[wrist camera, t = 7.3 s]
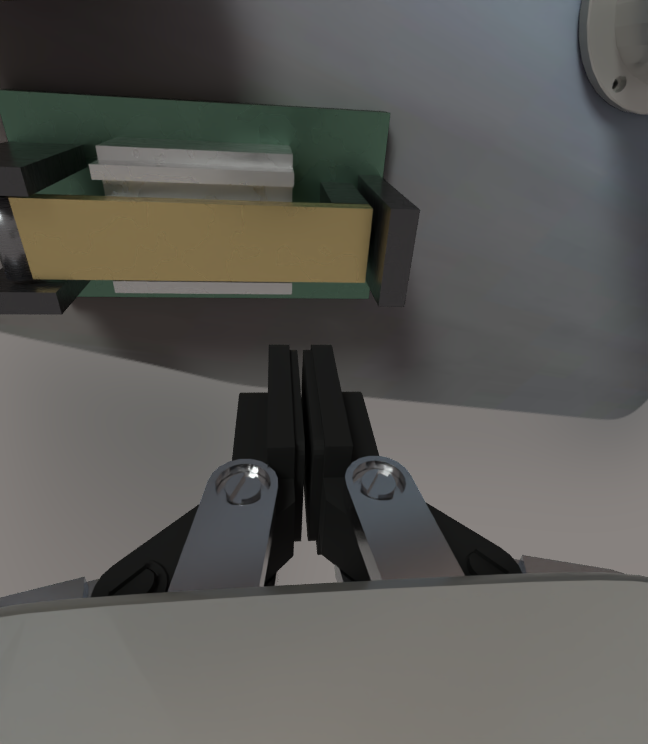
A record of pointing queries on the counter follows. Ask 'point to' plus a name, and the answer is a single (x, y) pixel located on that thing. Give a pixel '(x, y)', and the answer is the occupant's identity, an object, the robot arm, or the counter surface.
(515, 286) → the counter surface
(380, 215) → the cooling block
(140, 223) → the retention strap
